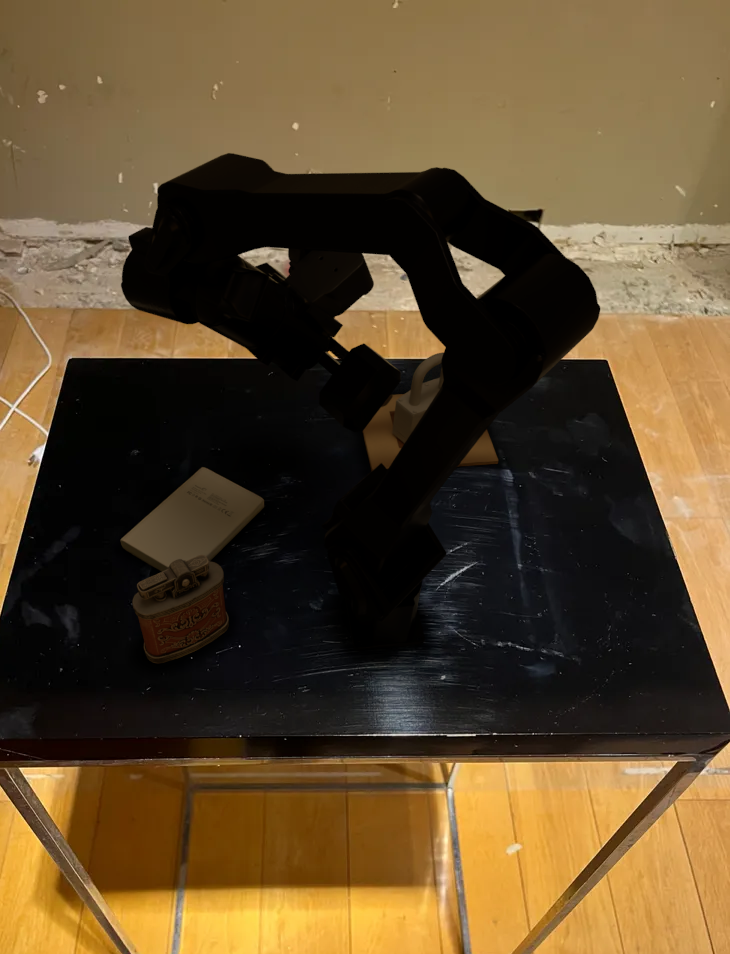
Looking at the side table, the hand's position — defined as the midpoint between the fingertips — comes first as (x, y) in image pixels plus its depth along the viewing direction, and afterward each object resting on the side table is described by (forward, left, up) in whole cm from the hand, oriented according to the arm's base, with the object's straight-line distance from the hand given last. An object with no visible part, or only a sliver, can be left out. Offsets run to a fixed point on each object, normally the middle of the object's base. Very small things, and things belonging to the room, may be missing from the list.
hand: (357, 373), depth 78 cm
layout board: (+6, -9, -14) cm, 18 cm away
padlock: (+6, -9, -13) cm, 17 cm away
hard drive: (-6, +17, -14) cm, 22 cm away
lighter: (-19, +18, -14) cm, 29 cm away
